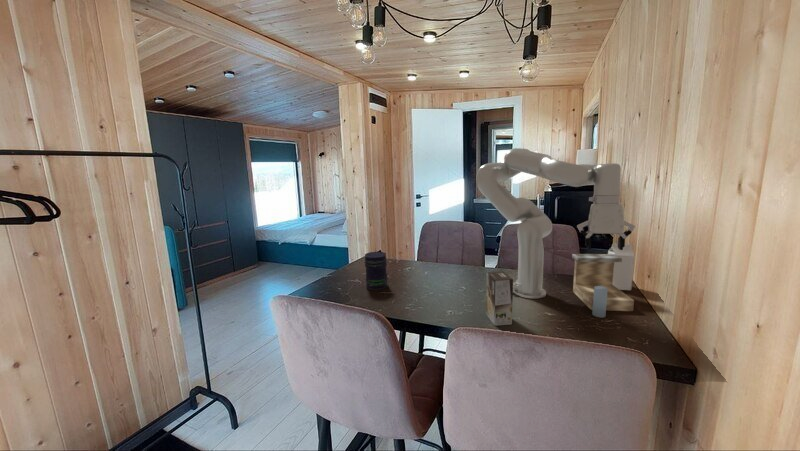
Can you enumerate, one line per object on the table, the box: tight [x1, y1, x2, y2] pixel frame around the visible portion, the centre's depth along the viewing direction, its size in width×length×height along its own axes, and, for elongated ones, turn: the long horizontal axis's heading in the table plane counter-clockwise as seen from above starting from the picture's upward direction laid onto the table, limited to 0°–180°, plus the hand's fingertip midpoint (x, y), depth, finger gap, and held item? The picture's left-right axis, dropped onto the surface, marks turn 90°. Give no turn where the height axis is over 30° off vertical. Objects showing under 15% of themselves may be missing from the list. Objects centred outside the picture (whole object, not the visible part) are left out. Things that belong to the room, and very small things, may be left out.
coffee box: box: [485, 270, 514, 327], centre depth 114 cm, size 9×6×16 cm
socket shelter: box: [571, 253, 635, 312], centre depth 127 cm, size 16×18×16 cm
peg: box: [591, 286, 608, 319], centre depth 115 cm, size 4×4×10 cm
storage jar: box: [364, 251, 388, 291], centre depth 151 cm, size 10×10×15 cm
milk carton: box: [607, 243, 635, 291], centre depth 139 cm, size 7×7×19 cm
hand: (604, 248), depth 116 cm, fingers open, 9 cm apart
